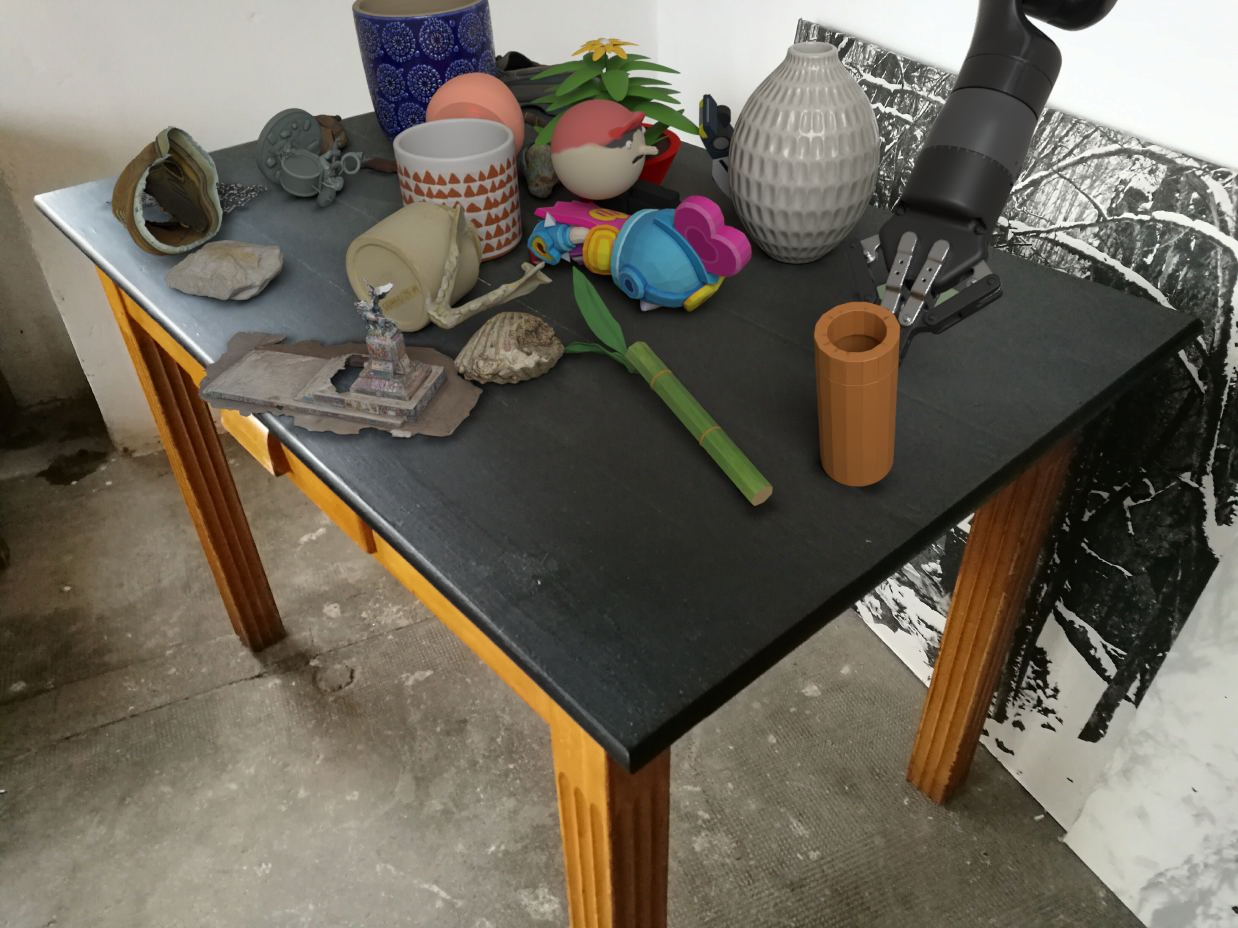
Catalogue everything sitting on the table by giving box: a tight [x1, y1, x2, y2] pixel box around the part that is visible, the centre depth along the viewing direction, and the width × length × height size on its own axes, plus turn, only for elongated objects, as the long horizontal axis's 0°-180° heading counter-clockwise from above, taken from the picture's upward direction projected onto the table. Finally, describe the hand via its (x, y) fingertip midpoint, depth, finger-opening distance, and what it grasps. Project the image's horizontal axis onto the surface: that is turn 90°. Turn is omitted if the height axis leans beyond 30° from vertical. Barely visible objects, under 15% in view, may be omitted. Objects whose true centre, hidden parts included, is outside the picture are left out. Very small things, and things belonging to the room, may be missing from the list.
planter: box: [351, 0, 498, 147], centre depth 129 cm, size 18×18×21 cm
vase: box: [728, 41, 881, 264], centre depth 99 cm, size 16×16×22 cm
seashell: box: [454, 311, 565, 385], centre depth 87 cm, size 11×7×10 cm
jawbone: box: [425, 203, 553, 330], centre depth 87 cm, size 12×13×8 cm
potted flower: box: [530, 37, 699, 203], centre depth 111 cm, size 24×25×20 cm
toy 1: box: [551, 99, 659, 200], centre depth 97 cm, size 10×12×10 cm
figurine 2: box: [313, 114, 348, 161], centre depth 139 cm, size 14×4×9 cm
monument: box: [197, 278, 484, 438], centre depth 85 cm, size 30×16×13 cm, turn 73°
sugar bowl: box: [345, 202, 482, 333], centre depth 98 cm, size 15×11×15 cm
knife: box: [360, 156, 398, 174], centre depth 126 cm, size 28×1×5 cm
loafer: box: [496, 50, 604, 117], centre depth 148 cm, size 11×30×9 cm, turn 59°
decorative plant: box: [563, 265, 773, 507], centre depth 81 cm, size 6×8×30 cm
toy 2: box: [593, 178, 683, 216], centre depth 104 cm, size 8×4×15 cm
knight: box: [526, 195, 753, 313], centre depth 96 cm, size 12×14×30 cm
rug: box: [105, 181, 268, 217], centre depth 126 cm, size 10×20×1 cm, turn 72°
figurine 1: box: [254, 107, 366, 208], centre depth 123 cm, size 11×11×12 cm
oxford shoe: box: [111, 125, 224, 257], centre depth 113 cm, size 28×10×11 cm
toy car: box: [698, 93, 734, 200], centre depth 110 cm, size 5×16×5 cm
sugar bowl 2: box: [426, 73, 526, 157], centre depth 115 cm, size 12×14×10 cm
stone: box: [164, 239, 285, 301], centre depth 104 cm, size 14×6×10 cm
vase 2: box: [392, 118, 523, 263], centre depth 108 cm, size 14×14×13 cm
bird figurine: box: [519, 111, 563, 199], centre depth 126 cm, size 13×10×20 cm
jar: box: [813, 301, 900, 487], centre depth 70 cm, size 6×6×15 cm
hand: (876, 371), depth 71 cm, fingers closed
